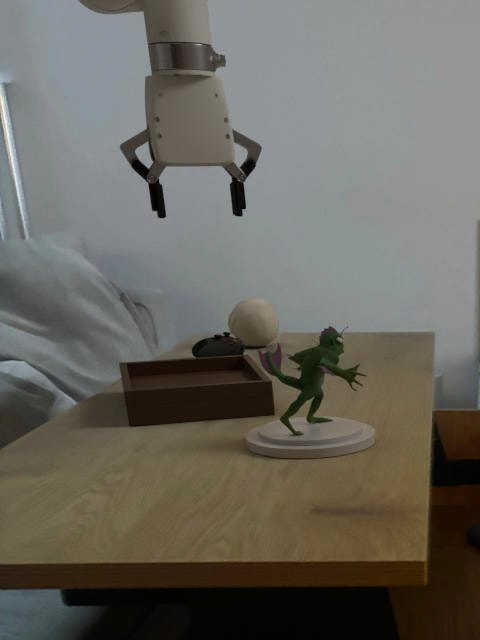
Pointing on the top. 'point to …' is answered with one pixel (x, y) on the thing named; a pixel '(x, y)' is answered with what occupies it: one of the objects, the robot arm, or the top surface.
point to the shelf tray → (195, 389)
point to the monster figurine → (311, 407)
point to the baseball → (254, 322)
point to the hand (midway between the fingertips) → (200, 216)
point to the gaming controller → (218, 346)
